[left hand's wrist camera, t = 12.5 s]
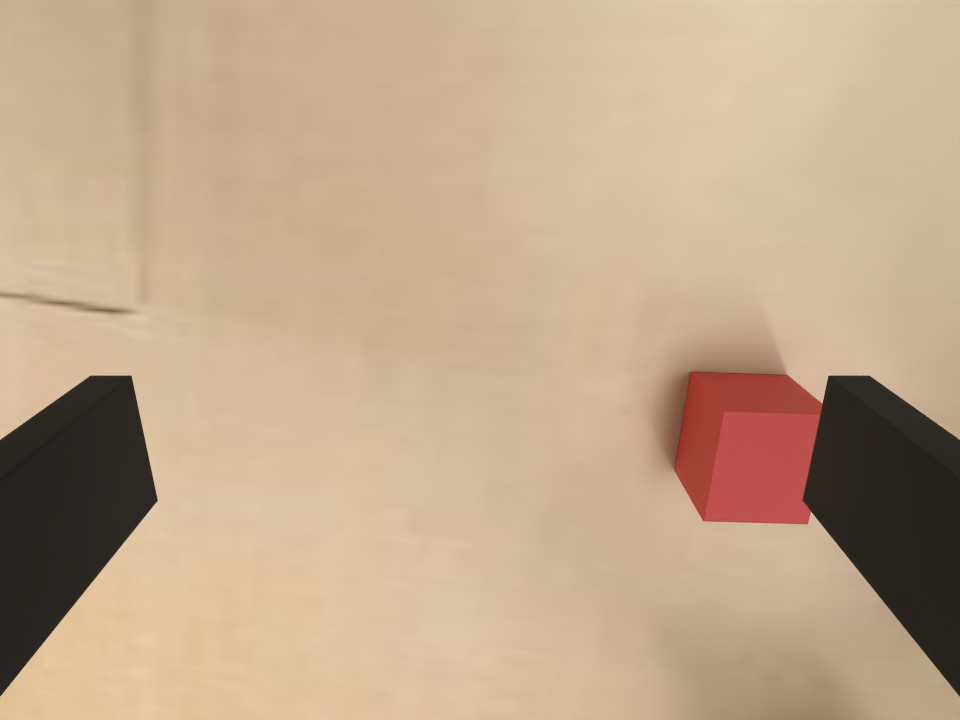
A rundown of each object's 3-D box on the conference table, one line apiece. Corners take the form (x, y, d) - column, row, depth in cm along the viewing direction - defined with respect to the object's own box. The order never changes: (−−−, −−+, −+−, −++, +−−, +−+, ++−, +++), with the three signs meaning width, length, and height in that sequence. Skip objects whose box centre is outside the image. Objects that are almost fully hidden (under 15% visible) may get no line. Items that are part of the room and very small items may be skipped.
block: (690, 371, 30) (723, 410, 26) (788, 375, 30) (835, 414, 26) (674, 471, 31) (703, 521, 28) (766, 473, 32) (807, 524, 28)
